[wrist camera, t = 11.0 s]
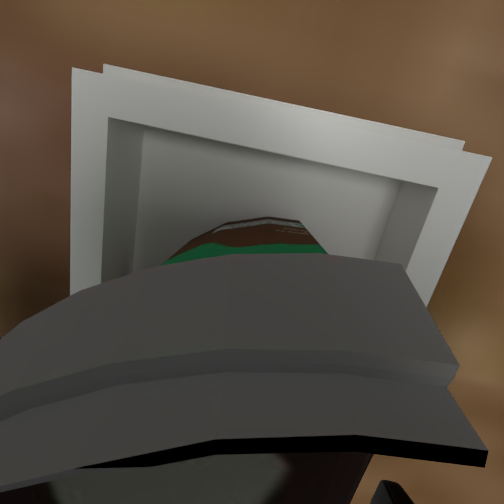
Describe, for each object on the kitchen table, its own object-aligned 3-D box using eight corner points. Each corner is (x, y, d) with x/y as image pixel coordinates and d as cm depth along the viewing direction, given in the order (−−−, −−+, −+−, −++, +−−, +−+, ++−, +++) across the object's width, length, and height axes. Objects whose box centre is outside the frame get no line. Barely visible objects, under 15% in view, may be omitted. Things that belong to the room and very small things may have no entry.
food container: (135, 140, 11) (-685, 148, 2) (310, 179, 11) (556, 407, 2) (113, 412, 15) (-146, 868, 6) (241, 437, 15) (198, 922, 6)
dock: (94, 511, 19) (57, 587, 16) (117, 70, 11) (52, 41, 8) (288, 553, 19) (291, 638, 16) (449, 141, 11) (521, 141, 8)
